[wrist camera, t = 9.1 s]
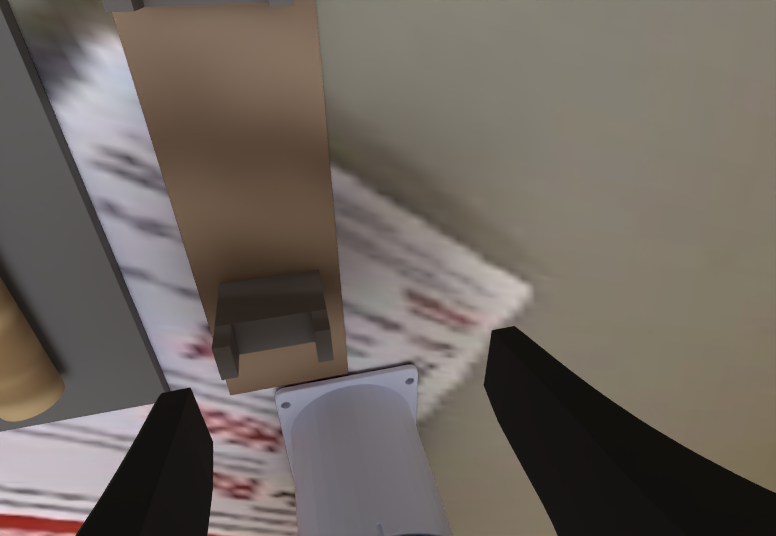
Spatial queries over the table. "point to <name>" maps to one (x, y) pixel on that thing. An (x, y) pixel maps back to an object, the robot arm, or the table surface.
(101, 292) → the mat
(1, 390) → the rail
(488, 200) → the table surface
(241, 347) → the hook stand
